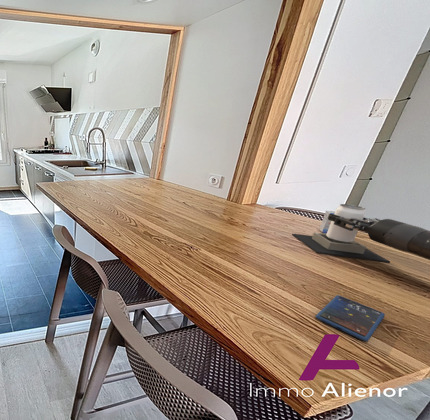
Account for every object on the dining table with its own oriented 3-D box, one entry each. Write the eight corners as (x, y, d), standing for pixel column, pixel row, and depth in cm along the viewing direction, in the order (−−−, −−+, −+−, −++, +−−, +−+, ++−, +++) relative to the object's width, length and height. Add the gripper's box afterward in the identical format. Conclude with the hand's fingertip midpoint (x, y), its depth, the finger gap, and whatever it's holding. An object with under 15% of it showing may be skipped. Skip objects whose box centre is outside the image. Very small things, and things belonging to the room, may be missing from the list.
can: (354, 244, 81) (369, 210, 78) (326, 238, 85) (339, 206, 82) (351, 238, 86) (365, 206, 82) (324, 233, 90) (336, 202, 86)
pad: (351, 241, 91) (355, 234, 90) (389, 263, 77) (394, 254, 76) (291, 234, 97) (294, 227, 96) (316, 253, 83) (320, 244, 82)
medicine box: (321, 232, 99) (329, 212, 96) (318, 229, 103) (326, 209, 100) (350, 237, 95) (359, 216, 92) (345, 233, 98) (354, 213, 95)
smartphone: (315, 315, 54) (337, 294, 61) (313, 318, 54) (336, 296, 61) (368, 340, 47) (386, 313, 54) (366, 343, 48) (384, 316, 55)
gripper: (434, 225, 68) (366, 207, 84) (379, 223, 69) (322, 205, 85) (421, 249, 71) (357, 227, 86) (368, 247, 71) (314, 225, 87)
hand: (340, 216), depth 86 cm, fingers closed on can, 6 cm apart
